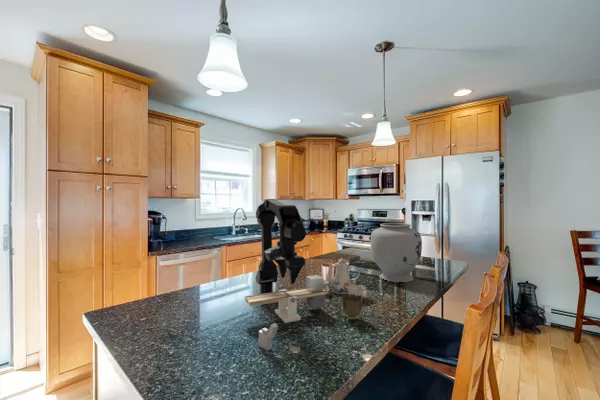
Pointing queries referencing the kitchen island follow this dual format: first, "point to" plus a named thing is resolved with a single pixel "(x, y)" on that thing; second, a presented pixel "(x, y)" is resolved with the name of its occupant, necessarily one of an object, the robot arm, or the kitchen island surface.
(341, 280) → the chinaware
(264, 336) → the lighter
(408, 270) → the apothecary jar
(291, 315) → the pivot stand
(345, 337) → the kitchen island surface
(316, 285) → the steel block
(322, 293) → the beam
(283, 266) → the robot arm
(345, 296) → the cup
